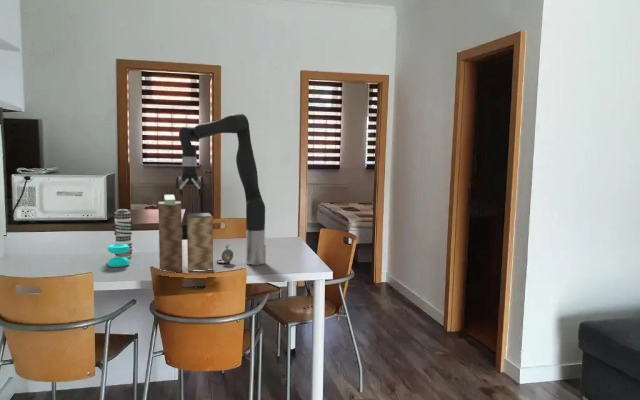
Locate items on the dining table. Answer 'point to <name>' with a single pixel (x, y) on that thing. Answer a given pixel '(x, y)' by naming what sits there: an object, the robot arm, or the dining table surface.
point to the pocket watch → (226, 255)
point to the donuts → (118, 260)
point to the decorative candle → (123, 231)
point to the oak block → (200, 241)
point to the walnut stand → (170, 236)
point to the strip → (169, 199)
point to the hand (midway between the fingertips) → (189, 196)
